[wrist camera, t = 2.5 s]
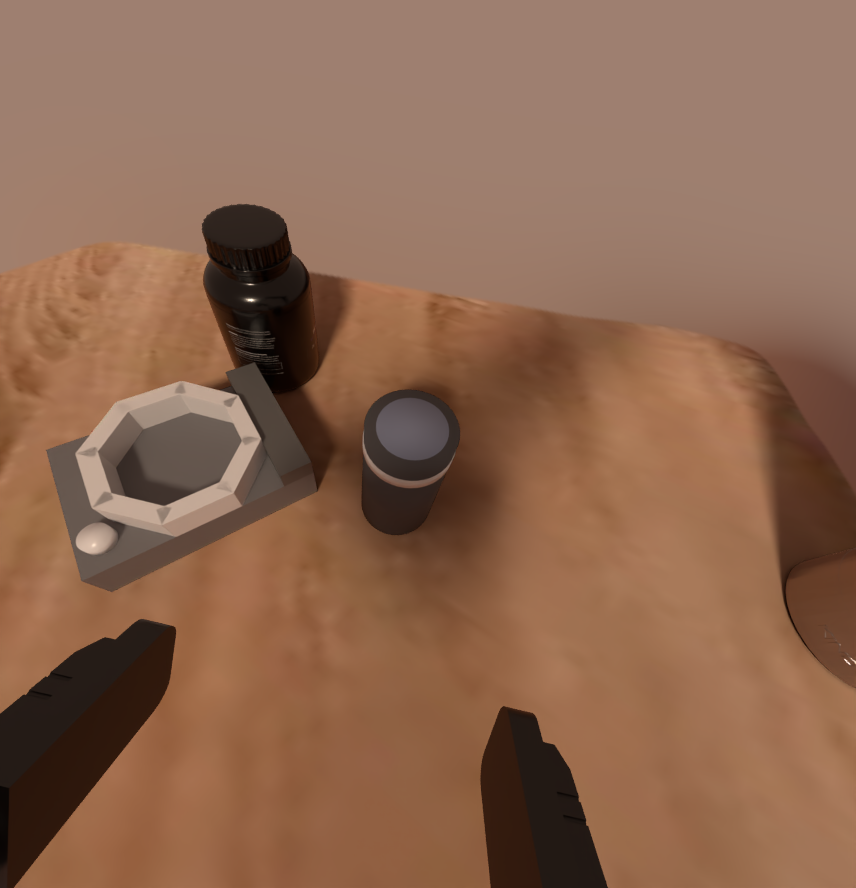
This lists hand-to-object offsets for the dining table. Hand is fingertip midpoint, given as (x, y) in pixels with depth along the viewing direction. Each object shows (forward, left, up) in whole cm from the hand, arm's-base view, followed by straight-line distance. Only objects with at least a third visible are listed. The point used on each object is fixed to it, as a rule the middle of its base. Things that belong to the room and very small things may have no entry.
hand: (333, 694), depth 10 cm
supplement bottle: (-6, -24, -16) cm, 29 cm away
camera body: (+3, -16, -16) cm, 23 cm away
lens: (-8, -8, -16) cm, 20 cm away
